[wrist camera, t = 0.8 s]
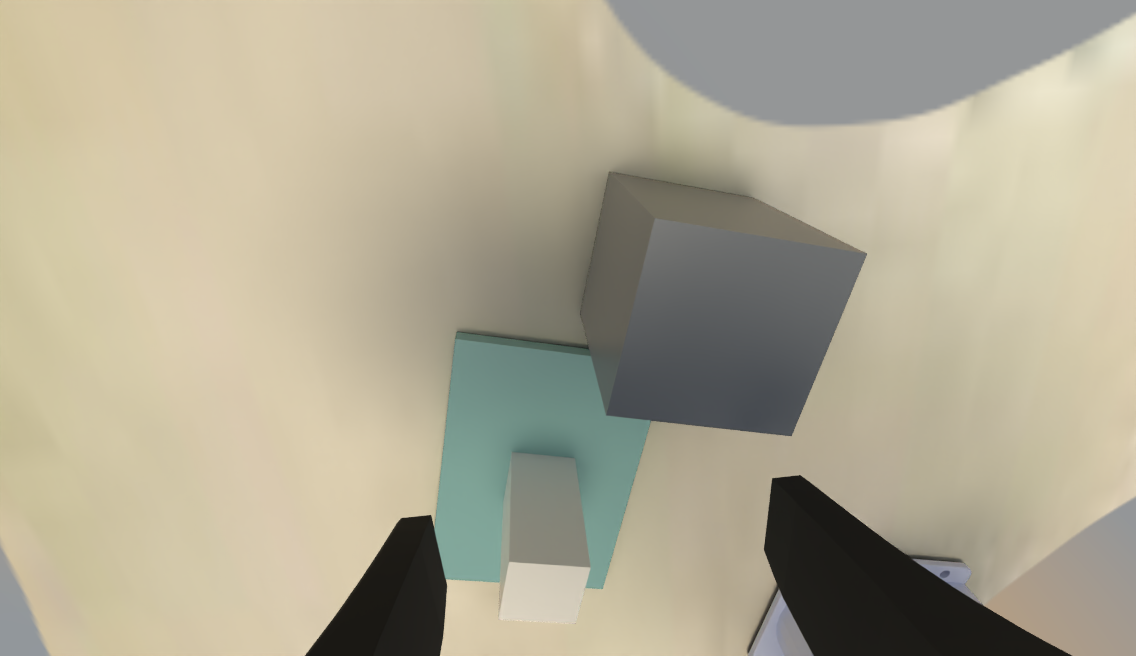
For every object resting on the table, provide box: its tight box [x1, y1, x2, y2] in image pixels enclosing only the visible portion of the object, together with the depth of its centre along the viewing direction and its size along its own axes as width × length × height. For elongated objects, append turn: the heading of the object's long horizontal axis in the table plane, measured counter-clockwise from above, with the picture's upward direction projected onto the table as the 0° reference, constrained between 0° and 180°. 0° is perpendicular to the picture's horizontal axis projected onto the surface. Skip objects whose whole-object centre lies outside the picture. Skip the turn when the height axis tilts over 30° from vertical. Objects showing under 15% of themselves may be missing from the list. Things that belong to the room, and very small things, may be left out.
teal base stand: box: [435, 332, 651, 624], centre depth 20 cm, size 8×12×6 cm, turn 170°
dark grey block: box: [580, 172, 867, 436], centre depth 16 cm, size 5×5×7 cm
